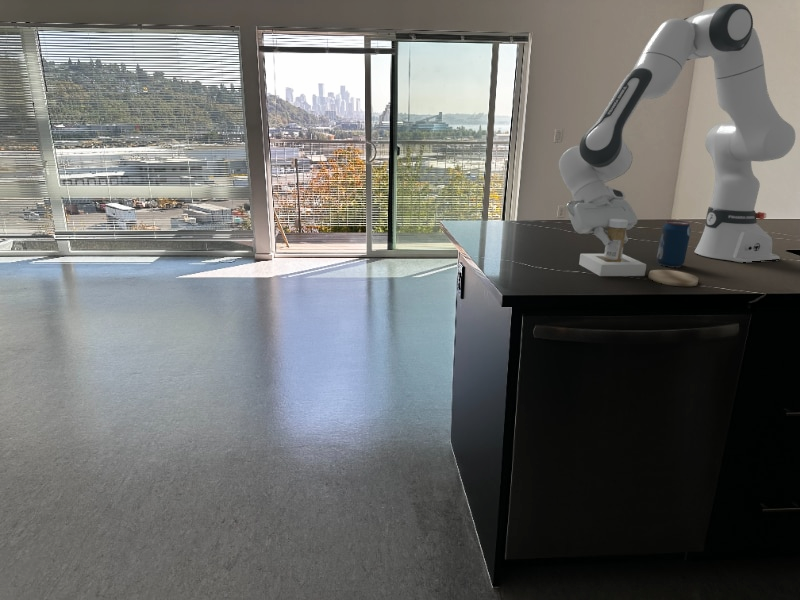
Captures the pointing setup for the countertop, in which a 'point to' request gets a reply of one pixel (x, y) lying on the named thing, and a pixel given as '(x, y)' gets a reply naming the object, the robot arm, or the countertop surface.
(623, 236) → the sprinkles bottle
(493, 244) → the countertop surface
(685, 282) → the disc
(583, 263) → the collar
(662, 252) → the soda can
